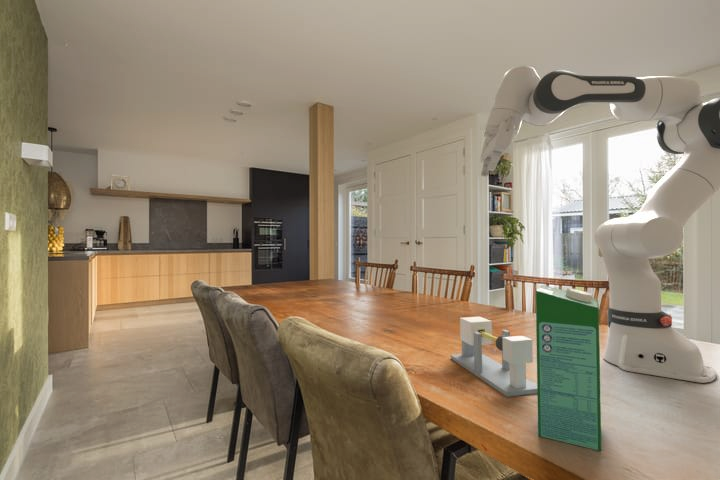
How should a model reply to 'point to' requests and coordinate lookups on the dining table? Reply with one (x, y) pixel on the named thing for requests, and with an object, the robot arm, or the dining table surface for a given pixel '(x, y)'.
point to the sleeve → (474, 329)
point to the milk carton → (568, 366)
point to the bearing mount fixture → (499, 376)
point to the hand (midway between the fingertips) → (487, 173)
